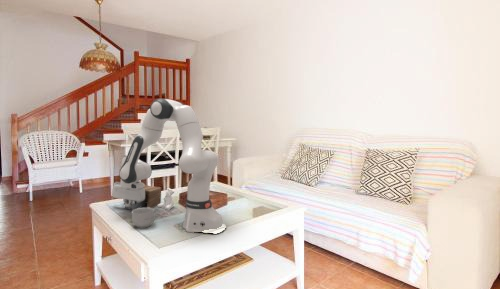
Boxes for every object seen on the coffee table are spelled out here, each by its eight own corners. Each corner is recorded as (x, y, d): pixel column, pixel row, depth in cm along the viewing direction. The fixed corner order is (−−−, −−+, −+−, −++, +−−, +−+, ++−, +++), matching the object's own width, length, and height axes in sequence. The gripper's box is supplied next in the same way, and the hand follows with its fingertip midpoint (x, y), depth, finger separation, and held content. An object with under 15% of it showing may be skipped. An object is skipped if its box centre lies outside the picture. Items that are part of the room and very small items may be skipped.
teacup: (146, 231, 137) (147, 214, 136) (126, 227, 139) (126, 211, 138) (161, 221, 150) (161, 206, 150) (142, 219, 152) (143, 204, 152)
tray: (133, 210, 166) (133, 203, 166) (124, 208, 168) (124, 202, 168) (145, 204, 178) (146, 198, 178) (137, 203, 179) (137, 197, 179)
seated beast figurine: (156, 207, 174) (157, 188, 173) (167, 204, 181) (168, 186, 180) (166, 210, 169) (167, 190, 168) (177, 208, 176) (178, 188, 175)
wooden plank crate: (160, 203, 182) (161, 187, 181) (148, 208, 171) (149, 191, 170) (136, 200, 187) (137, 184, 186) (123, 204, 176) (124, 187, 175)
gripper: (109, 182, 165) (108, 205, 166) (140, 186, 159) (139, 210, 160) (117, 180, 171) (116, 202, 172) (147, 184, 166) (146, 207, 166)
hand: (127, 206), depth 166 cm, fingers closed, pressing on tray
